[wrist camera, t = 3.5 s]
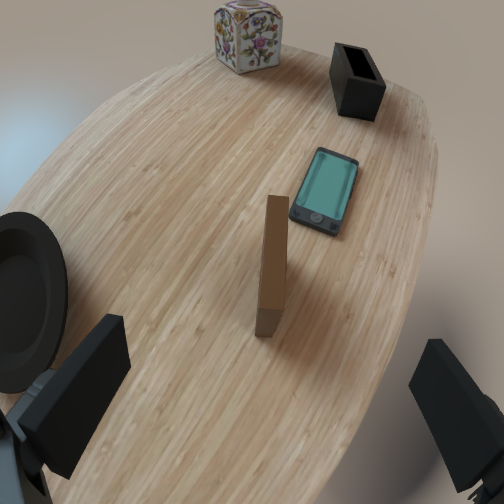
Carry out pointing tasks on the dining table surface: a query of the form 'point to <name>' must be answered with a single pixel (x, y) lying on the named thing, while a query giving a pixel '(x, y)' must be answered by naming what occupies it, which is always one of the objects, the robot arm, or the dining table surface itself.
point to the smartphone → (325, 191)
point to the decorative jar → (248, 35)
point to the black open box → (356, 82)
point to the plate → (29, 300)
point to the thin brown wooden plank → (273, 267)
